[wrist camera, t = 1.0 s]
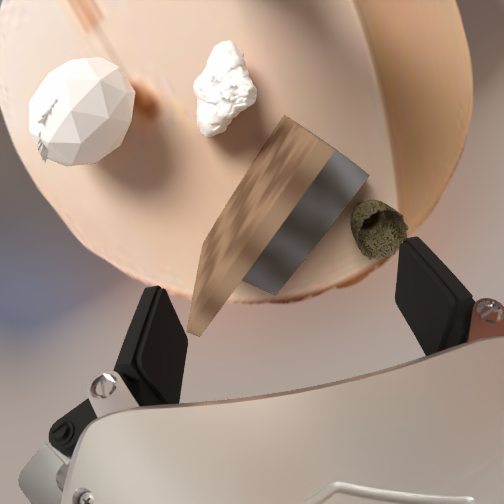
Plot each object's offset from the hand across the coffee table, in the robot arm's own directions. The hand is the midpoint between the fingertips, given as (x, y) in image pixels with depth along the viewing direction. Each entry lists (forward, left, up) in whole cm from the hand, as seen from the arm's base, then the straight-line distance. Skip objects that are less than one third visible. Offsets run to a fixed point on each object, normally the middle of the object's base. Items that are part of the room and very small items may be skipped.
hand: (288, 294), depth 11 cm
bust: (-4, -7, -31) cm, 32 cm away
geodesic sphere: (+5, -21, -31) cm, 37 cm away
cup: (0, +19, -31) cm, 36 cm away
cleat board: (+6, +8, -31) cm, 32 cm away
